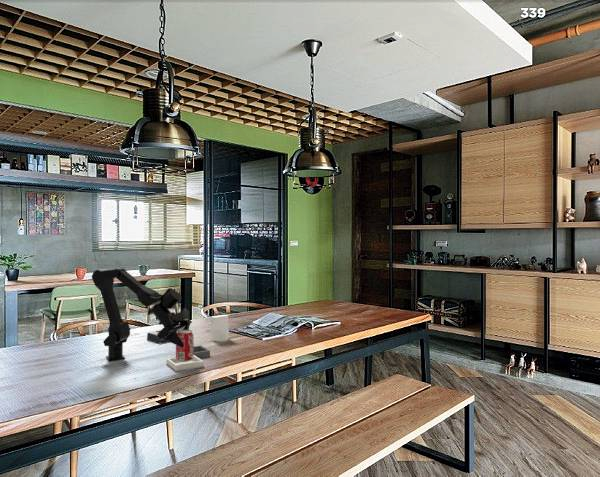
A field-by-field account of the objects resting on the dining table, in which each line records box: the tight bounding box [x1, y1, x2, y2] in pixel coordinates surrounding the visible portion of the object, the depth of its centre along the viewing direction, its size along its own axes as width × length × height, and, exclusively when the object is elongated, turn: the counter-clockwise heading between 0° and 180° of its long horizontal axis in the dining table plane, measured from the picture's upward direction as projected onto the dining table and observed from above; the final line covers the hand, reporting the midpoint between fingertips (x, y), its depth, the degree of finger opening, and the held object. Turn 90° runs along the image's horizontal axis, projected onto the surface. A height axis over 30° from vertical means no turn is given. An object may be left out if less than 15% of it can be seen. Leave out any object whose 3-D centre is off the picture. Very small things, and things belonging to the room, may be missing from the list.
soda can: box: [175, 329, 195, 362], centre depth 180 cm, size 7×7×12 cm
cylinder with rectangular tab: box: [210, 314, 229, 342], centre depth 224 cm, size 9×9×12 cm
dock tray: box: [165, 355, 205, 372], centre depth 180 cm, size 12×12×2 cm
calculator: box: [146, 329, 178, 344], centre depth 224 cm, size 11×4×15 cm
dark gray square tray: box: [193, 345, 211, 359], centre depth 195 cm, size 10×10×2 cm
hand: (187, 344), depth 180 cm, fingers closed on soda can, 7 cm apart
